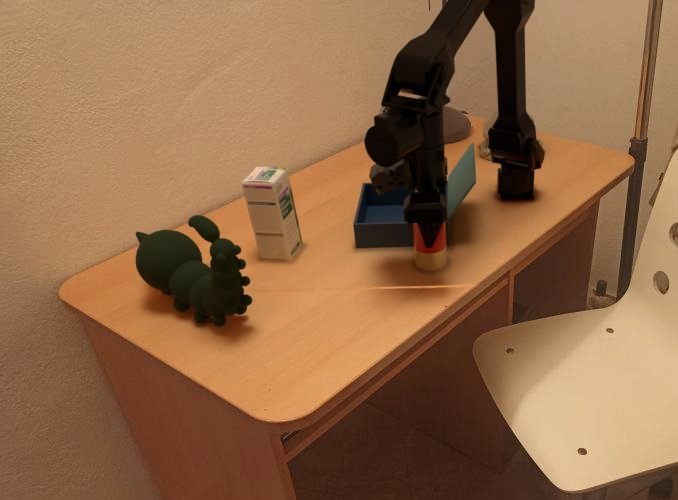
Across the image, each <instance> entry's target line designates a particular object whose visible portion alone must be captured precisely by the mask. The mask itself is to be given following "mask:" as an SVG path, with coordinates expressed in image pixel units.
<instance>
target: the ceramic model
mask: <svg viewBox="0 0 678 500" xmlns="http://www.w3.org/2000/svg"><path fill="white" fill-rule="evenodd" d="M528 115H529V117H530V118H531V120H532V121H533V123H534V124H535V120H534V118H533V115H531V114H529V113H528ZM497 117H498V108H497V109H494V110H493V112H492V113H491V114H490V115H489V116H488V117H487V118H486V119H485V120H484V122H483V127H482V137H483V141H481V142H480V143H479V145H478V146H479V148H480V149H479V154H480V156H481V157H482V158H483V159H485V160H487V161H491V162H492V158H491V154H490V149H488V145H489V137H488V130H489V129H490V128H491V127H492V126H493V124H494V122H495V121H496V119H497ZM537 141H538V142H539V144H540V145H541V147H542V148H543V145H544V144H543V141H542V139H540V138H539V139H538V138H537Z"/></svg>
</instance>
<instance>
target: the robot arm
mask: <svg viewBox="0 0 678 500" xmlns="http://www.w3.org/2000/svg"><path fill="white" fill-rule="evenodd" d="M535 9H536V0H446V2H445V3H444V5H443V7H442V8H441V10H440V11H439V12H438V14H437V15H436V17H435V19H434V20H433V21H432V23H431V25H430V26H429V27H428V28H427V30H426V31H425V32H424V33H422V34H420V35H418V36H416V37H414V38H412V39H410V40H409V41H408V42H407V43H406V44H405V45H404V46H403V47H402V48H401V49H400V50H399V52H398V53H397V54H396V56H395V58H394V59H393V62H392V64H391V68H390V72H389V76H388V79H387V82H386V85H385V88H384V92H383V95H382V99H381V103H380V106H381V108H382V107H386V108H390V110H388V111H387V112H385V113H380V112H379V113H380V114H379V113H377V114H376V115H374V117H373V125H372V126H371V127H369V128H368V129H367V131H366V133H365V137H364V139H363V144H364V148H365V151H366V153H367V155H368V157H369V158H370V160H372V162H373V163H374V164H372V165H371V167H370V168H369V169H370V170H369V173H368V177H369V179H370V183H372V189H373V190H376V191H377V193H378V194H379V195H382V194H385V193H386V192H387V191H390V190H392V189H394V188H397V187H400V186H402V185H403V184H405V189H415V192H418V193H412V194H410V195H409V196H408V197H407V198H406V199H405V202H404V221H405V222H407V223H417V225H418V227H419V230H420V233H421V236H422V238H423V241H424V244H425V247H426V248H432V247H433V245H434V243H435V241H436V238H437V236H438V234H439V231H440V229H441V227H442V225H443V223H444V222H445V221H447V198H446V197H445V196H444V192H445V189H446V186H447V181H448V176H449V174H448V171H449V170H448V169H449V167H448V157H446V154H445V153H446V151H445V150H446V149H445V147H446V146H445V128H444V125H445V124H444V106H446V105H448V104H450V102H451V98H450V97H449V96H448V95H447V94H446V92H447V90H448V88H449V85H450V83H451V81H452V79H453V77H454V75H455V73H456V65H455V57H456V55H457V53H458V51H459V49H461V46H462V45H463V43H464V42H465V40H466V38H467V37H468V35H469V34H470V32H471V31H472V29H473V28H474V26H475V25H476V23H477V22H478V20H479V18H480V17H481V16H482V14H483V15H484V17H485V19H486V20H487V22H488V24H489V25H490V27H491V28H492V30H493V33H494V48H495V49H494V52H495V53H494V54H495V55H494V56H495V72H496V73H495V74H496V94H497V95H496V96H497V109H498V117H497V119H496V121H495V122H494V124H493V126H492V127H491V128H490V129H489V130H488V137H489V145H488V149H490V154H491V158H492V161H491V162H492V164H499V166H500V167H498V168H497V169H496V170H497V171H496V191H497V194H498V195H499V197H500V201H501V202H502V201H503V202H504V201H507V202H508V201H534V200H535V198H536V196H535V191H534V190H535V172H536V170H541V169H542V166H543V165H542V164H543V163H544V160H545V155H546V150H545V149H544V148H543V146H542V147H541V145H540V144H539V142H538V141H537V139H538V138H537V130H536V129H537V128H536V124H535V122H534V123H533V121H532V120H531V118H530V117H529V115H530V114H529V113H528V112H527V85H526V83H527V81H526V76H527V75H526V25H527V24H528V22H529V20H530V18H531V17H532V15H533V12H534V11H535ZM400 93H402V94H407V95H413V96H418V97H411V96H407V95H406V96H405V95H400ZM528 114H529V115H528Z"/></svg>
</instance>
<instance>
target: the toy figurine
mask: <svg viewBox="0 0 678 500" xmlns="http://www.w3.org/2000/svg"><path fill="white" fill-rule="evenodd" d="M187 225H188V227H190V228H193V229H194V230H195V232H197V234H198V235H199V236H200V237H201V238H202V240H204V241H206V242H208V243H211V244H210V246H209V255H210V257H211V259H210V261H209V265H208V264H206V263H205V262H203V255H202V251H201V250H200V247H199V246H198V244H197V243H196V242H195V241H194V240H193V239H192V238H191V237H189V236H188V235H186V234H185V233H184V232H181V231H177V230H173V229H160V230H156V231H153V232H152V233H150V234H149V233H146V232H142V231H135V236H136V239H137V241H138V243H139V245H138V247H137V250H136V253H135V268H136V270H137V272H138V275H139V277H140V278H141V279H142V280H143V281H144V282H145V283H146V284H147V285H148V286H149V287H151V288H153V289H155V290H157V291H159V292H161V293H162V294H163V295H165V296H173V297H174V298H173V300H172V307H173V308H174V309H175V311H176V312H179V313H186V312H187V311H189V310H190V308H192V309H193V311H194V313H193V314H192V319H193V321H194V322H195V323H196V324H198V325H201V324H205V323H206V322H207V321H209V320H208V319H209V317H211V324H212V325H213V326H214V327H216V328H222V327H224V326H226V322H227V317H229V316H234V315H235V314H236V315H237V316H242V315H244V314H246V312H247V310H248V307H249V306H251V305H252V304H253V297H252V296H251V295H249V293H246V294H245V289H244V287H248V286H249V285H250V284H251V278H250V277H249V276H248V275H243V274H242V272H241V271H242V270H244V269H246V267H247V261H246V260H244V258H239V257H238V255H240V254H241V253H242V247H241V246H240V245H239V244H235V243H234V242H233V241H232V240H231V239H228V238H225V237H221V232H220V229H219V226H218V225H217V224H216V223H215V222H214V221H213V220H212V219H210V218H208V217H207V216H205V215H201V214H195V215H192V216H191V217H189V219H188V221H187Z"/></svg>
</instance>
